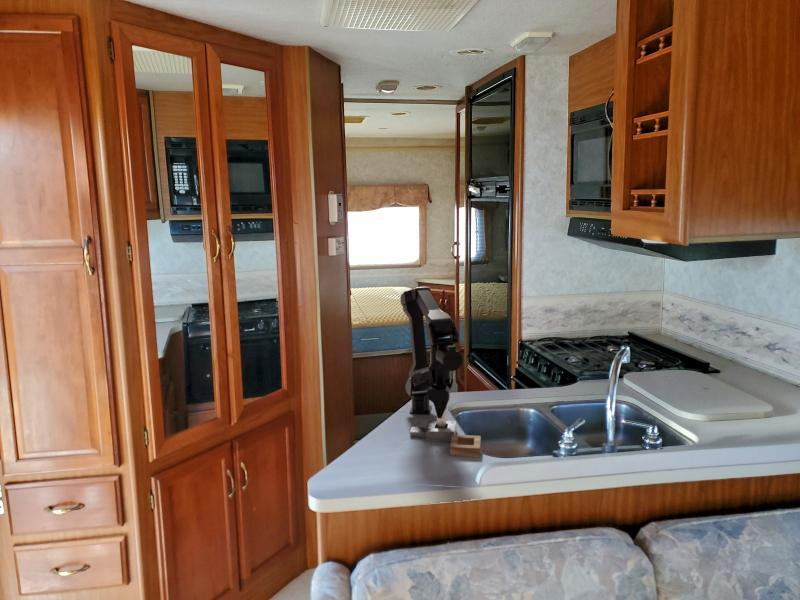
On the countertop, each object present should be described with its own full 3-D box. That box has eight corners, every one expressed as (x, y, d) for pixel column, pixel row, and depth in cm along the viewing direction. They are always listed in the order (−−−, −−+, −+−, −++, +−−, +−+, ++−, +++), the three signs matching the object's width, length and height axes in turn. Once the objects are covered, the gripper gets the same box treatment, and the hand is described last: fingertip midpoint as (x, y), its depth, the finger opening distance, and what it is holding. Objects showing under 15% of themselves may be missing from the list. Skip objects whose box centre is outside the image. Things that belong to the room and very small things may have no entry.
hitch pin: (436, 433, 179) (436, 403, 177) (447, 433, 179) (447, 404, 177) (435, 437, 176) (435, 407, 174) (446, 438, 175) (446, 408, 174)
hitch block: (413, 428, 183) (412, 419, 182) (456, 430, 180) (456, 421, 180) (409, 440, 175) (408, 430, 174) (454, 442, 173) (454, 432, 172)
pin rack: (452, 442, 172) (452, 434, 172) (480, 444, 171) (480, 435, 171) (450, 455, 165) (450, 447, 164) (479, 457, 163) (479, 448, 163)
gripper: (416, 350, 183) (417, 398, 186) (407, 370, 165) (409, 423, 168) (453, 351, 181) (454, 400, 184) (448, 371, 163) (449, 425, 166)
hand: (441, 411), depth 176 cm, fingers open, 9 cm apart
